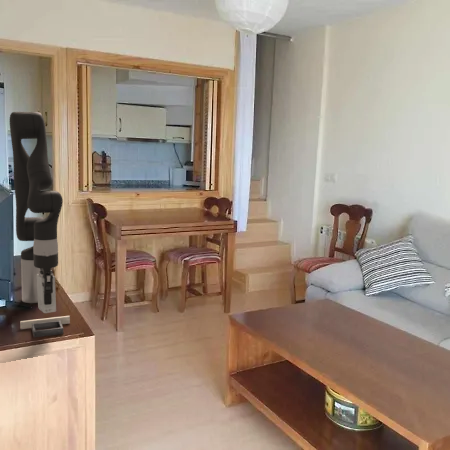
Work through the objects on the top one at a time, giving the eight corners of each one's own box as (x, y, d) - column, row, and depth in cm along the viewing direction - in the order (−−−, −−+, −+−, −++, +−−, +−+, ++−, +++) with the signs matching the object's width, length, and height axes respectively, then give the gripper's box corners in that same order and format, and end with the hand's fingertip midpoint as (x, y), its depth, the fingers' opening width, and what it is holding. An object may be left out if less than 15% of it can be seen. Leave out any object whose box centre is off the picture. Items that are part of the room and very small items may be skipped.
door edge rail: (20, 328, 162) (20, 321, 161) (69, 322, 169) (69, 315, 168) (20, 329, 161) (20, 322, 160) (69, 323, 168) (69, 316, 167)
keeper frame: (31, 329, 161) (31, 323, 161) (60, 325, 165) (60, 320, 165) (33, 337, 155) (33, 331, 154) (63, 333, 159) (63, 328, 158)
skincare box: (56, 311, 158) (56, 276, 156) (43, 314, 155) (42, 278, 153) (50, 306, 162) (49, 271, 160) (36, 308, 160) (36, 273, 158)
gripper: (31, 247, 160) (32, 295, 163) (35, 257, 147) (36, 309, 150) (55, 246, 163) (55, 293, 166) (61, 256, 151) (61, 306, 153)
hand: (46, 300), depth 158 cm, fingers closed on skincare box, 6 cm apart
